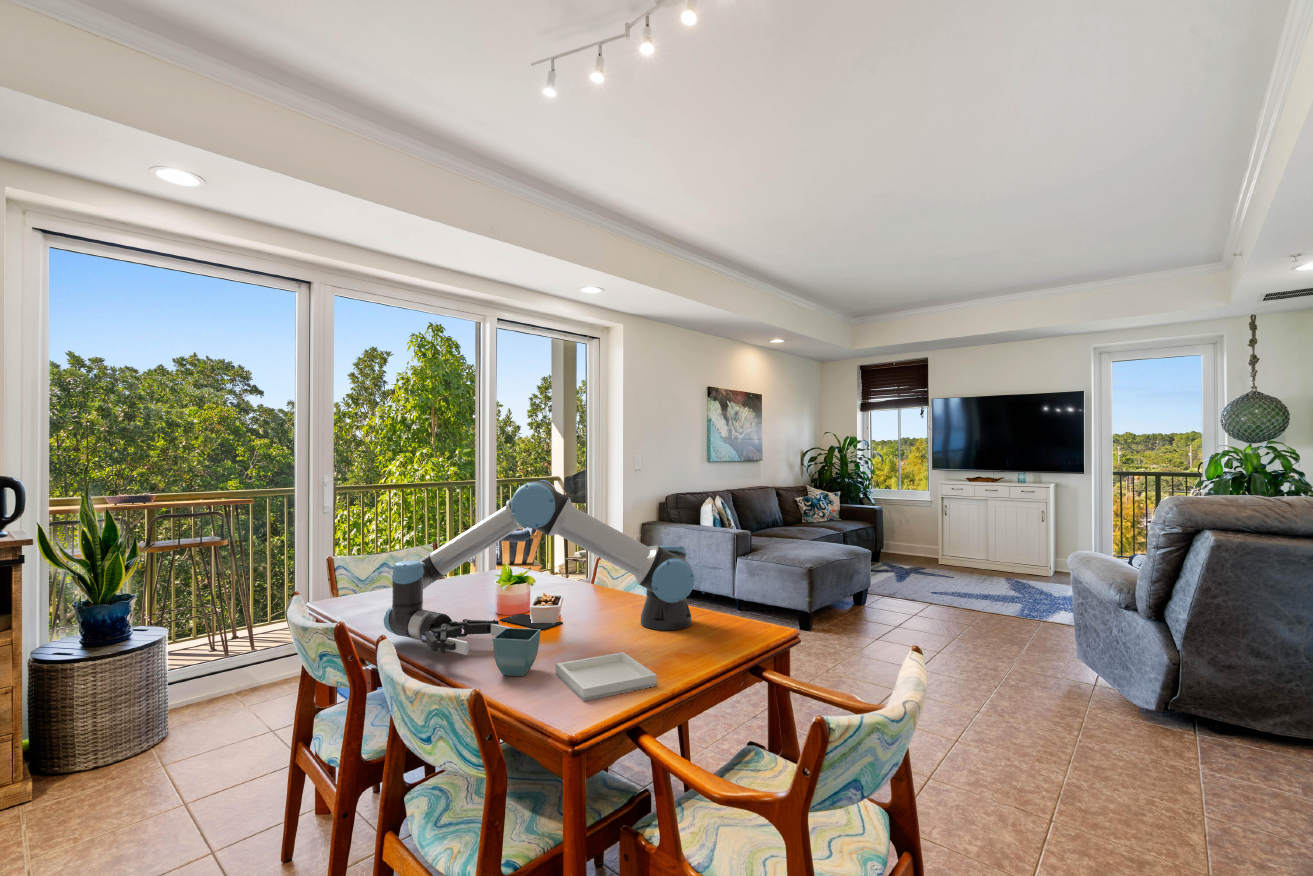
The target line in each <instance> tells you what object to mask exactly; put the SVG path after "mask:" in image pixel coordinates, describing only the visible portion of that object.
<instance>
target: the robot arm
mask: <svg viewBox="0 0 1313 876" xmlns="http://www.w3.org/2000/svg"><path fill="white" fill-rule="evenodd" d="M572 503H573V502H572V499H571V498H570V497H568V496H567V495H565V494H562V493H561V492H559V491H557V490H556V488H554V486H552V484H550V483H549V482H546V481H543V480H533V481H529V482H526V483H524V484H523V485H521V486H520V487H518V488H517V490H516V491H515V492H514V494H513V496H512V497H511V498H509V499H508V500H506V504H505V506H503V507H502V508H500V509H499V510H497V511H495V512H494V513H492V514H491V515H489V516H488V517H487V516H486V518H484V519H482V520H481V521H479V522H478V523H476V524H475V525H473V526H471V527H470V528H469V529H466V530H465V531H463V532H462V533H460V534H459V535H457V536H456V537H454V538H453V539H451V540H449V541H448V542H446V543H445V544H443V545H441V546H439V548H437V549H435V550H433V551H431V552H430V553H429V554H427V555H426V556H424V557H422V558H421V559H419V560H415V559H414V560H411V559H410V560H402V561H398V562H395V563H394V564H393V565H392V566H393V567H392V575H391V576H392V577H391V580H392V605H391V606H390V607H389V608H388V609H387V611H386V613H385V615H384V616H383V625H384V628H385V630H387V631H388V632H389V633H391V634H394V635H396V636H399V637H404V638H409V639H414V640H418V641H421V643H424V644H426V646H427V647H428V648H429V650H430V651H431V652H432V653H436V652H438V650H439V653H440V654H446V651H450V652H453V653H458V654H461V655H465V656H467V655H468V654H469V641H465V640H463V639H462V640H461V639H457V638H462V637H463V638H465V637H467V636H468V635H469V636H470V635H487V634H490V636H493V637H495V636H496V635H498V634H499V633H500V632H501V631H502V630H504V629H505V628H512V627H510V626H506V625H500V624H499V622H500V620H495V619H492V620H485V619H484V620H478V619H468V618H467V619H466V618H464V619H462V621H456V620H453V619H452V618H451V617H450V616H449V615H448V614H445V613H441V612H436V611H433V610H428V609H423V607H424V606H423V605H424V590H425V589H426V588H427V587H429V586H431V585H432V584H434V583H435V582H436V581H438V580H439V579H442V578H443V577H444V576H445V575H447V574H449V573H451V572H452V571H454V570H455V569H457V568H459V567H461V565H463V564H464V563H467V562H468V561H470V560H471V559H472V558H473V559H474V557H476V556H477V555H479V554H480V553H482V552H483V551H486V550H487V549H488V548H490V547H492V546H494V545H495V544H496V543H498V542H500V541H501V540H503V539H505V537H508V536H509V535H511V534H512V533H514V532H515V531H517V530H518V529H524V530H525V529H534V530H536V531H538V532H540V533H542V534H544V535H546V536H548V537H552V536H557V535H558V536H560V537H561V538H563V539H565V540H567V541H569V542H570V543H573V544H574V545H577V546H579V547H580V548H582V549H584V550H586V551H588V552H590V553H591V554H593V555H595V556H596V557H599V558H601V559H602V560H604V561H607V562H608V563H610V564H612V565H614V566H615V567H617V568H619V569H621V570H622V571H625V572H627V573H629V574H631V575H633V576H634V577H635V581H636V584H637V585H639V586H641V587H643V588H645V589H646V597H645V600H644V604H643V607H642V610H641V611H642V612H641V614H640V625H641V626H642V625H643V626H642V627H644V628H647V629H651V630H657V631H658V630H659V631H675V630H683V629H686V628H689V627H690V626H691V625H692V614H691V613H692V612H691V611H690V608H689V604H688V601H687V597H688V596H690V594H691V592H692V591H693V588H694V586H695V574H694V570H693V569H692V566H691V565H690V564H689V562H687V561H686V559H687V558H686V557H687V553H686V548H685V546H683V545H650V546H647V545H646V544H644V543H642V542H640V541H638V540H637V539H634V538H633V537H631V536H629V535H627V534H625V533H623V532H621V531H619V530H618V529H616V528H614V527H613V526H610V525H608V524H606V523H605V522H603V521H601V520H599V519H597V518H595V517H593V516H592V515H590V514H588V513H586V512H584V511H582V510H580V509H578V508H576V507H575V506H573V504H572ZM688 626H689V627H688Z"/></svg>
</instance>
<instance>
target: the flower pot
mask: <svg viewBox="0 0 1313 876" xmlns="http://www.w3.org/2000/svg"><path fill="white" fill-rule="evenodd" d="M540 639H541V630H540V629H532V628H523V627H522V628H520V627H519V628H516V627H513V628H512V627H511V628H505V629H504V630H502V631H501V632H500V633H499V634H498V635H496V636H493V638H492V647H493V654H494V660H495V661H494V662H495V665H496V667H497V669H498V671H499V672H500V673H501V675H503V676H509V677H510V676H513V677H524V676H526V674H527V673H528V672H529V671H530V670H531V668H532V667H533V665H534V662H535V661H536V658H537V655H538V652H539V646H540Z"/></svg>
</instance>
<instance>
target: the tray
mask: <svg viewBox="0 0 1313 876" xmlns="http://www.w3.org/2000/svg"><path fill="white" fill-rule="evenodd" d="M555 676H557V678H559V679H560V680H561V681H562V682H563V684H564V685H566V686H567V687H568V688H569V689H570V691H572V692H573V693H574V694H575V695H576V696H577V697H578V698H579V699H580V700H581V701H582V702H588V701H592V700H597V699H602V698H607V697H606V696H608V697H612V695H613V696H616V694H617V695H620V693H622V694H626V693H625V692H627V693H630V691H632V692H634V691H633V690H637V691H639V690H638V689H642V690H645V688H647V689H650V688H649V687H651V688H654V687H653V686H656V687H657V686H658V683H657V681H658V675H657V673H655V672H653V671H652V670H650V669H649V668H648V667H646V666H645V665H643V664H642V663H640V662H639V661H637V660H636V659H634V658H633V657H632V656H630V655H628V654H627V653H626V652H625V651H623V652H615V653H610V654H606V655H605V654H604V655H598V656H592V657H588V658H581V659H576V660H570V661H564V662H558V663H557V662H556V664H555Z"/></svg>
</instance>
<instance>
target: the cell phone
mask: <svg viewBox="0 0 1313 876" xmlns="http://www.w3.org/2000/svg"><path fill="white" fill-rule="evenodd" d="M530 615H531V614H528V613H523V614H519V613H517V614H512V615H509V616H506V617H503V618H500V619H499V622H500V621H502V622H501V623H505V622H507V623H506V624H509V623H510V624H509V625H514V626H518V625H519V627H522V628H526V629H540V630H541V631H542V632H543V630H544V631H547V630H549V629H553V628H555V627H558V625H559V626H562V625H563V623H564V622H563V621H560V620H558V621H559V622H556V623H546V624H540V623H535V624H534V623H531V619H530ZM561 624H562V625H561ZM546 629H547V630H546ZM541 631H540V632H541Z"/></svg>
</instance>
